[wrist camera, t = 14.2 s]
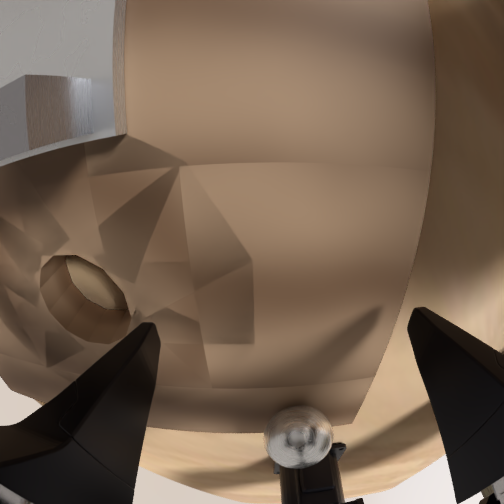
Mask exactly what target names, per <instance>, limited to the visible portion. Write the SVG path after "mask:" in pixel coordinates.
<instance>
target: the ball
mask: <svg viewBox="0 0 504 504" xmlns="http://www.w3.org/2000/svg"><path fill="white" fill-rule="evenodd" d="M333 436H334V434H333V428H332V425H331V423H330V421H329V419H328V418H327V417H326V416H325V415H324V414H323V413H322V412H321V411H319V410H317V409H315V408H313V407H309V406H292V407H288V408H285V409H283V410H281V411H280V412H278V413H277V414H275V415H274V416H273V417H272V418H271V420H270V421H269V422H268V424H267V426H266V428H265V432H264V446H265V449H266V451H267V453H268V455H269V456H270V457H271V458H272V459H273V460H274V461H275V462H276V463H278V464H280V465H282V466H284V467H287V468H293V469H301V468H306V467H310V466H312V465H314V464H316V463H318V462H319V461H321V460H322V459H323V458H324V457H325V456H326V455H327V453H328V452H329V450H330V448H331V446H332V443H333Z"/></svg>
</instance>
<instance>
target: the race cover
mask: <svg viewBox="0 0 504 504" xmlns="http://www.w3.org/2000/svg"><path fill="white" fill-rule="evenodd" d="M125 12H126V0H0V166H3V165H6V164H9V163H12V162H15V161H18V160H21V159H24V158H27V157H30V156H34V155H37V154H40V153H44V152H47V151H51V150H55V149H59V148H62V147H66V146H70V145H75V144H79V143H83V142H88V141H92V140H97V139H102V138H107V137H112V136H117V135H122V134H126V133H127V124H126V109H125V87H124V32H125Z"/></svg>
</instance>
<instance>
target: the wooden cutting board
mask: <svg viewBox="0 0 504 504" xmlns="http://www.w3.org/2000/svg"><path fill="white" fill-rule="evenodd" d="M124 87H125V109H126V124H127V133H126V134H122V135H117V136H112V137H107V138H102V139H97V140H92V141H88V142H83V143H79V144H75V145H70V146H66V147H62V148H59V149H55V150H51V151H47V152H44V153H40V154H37V155H34V156H30V157H27V158H24V159H21V160H18V161H15V162H12V163H9V164H6V165H3V166H0V376H1V378H2V379H3V380H4V382H5V383H6V384H7V385H8V387H9V388H10V389H11V390H12V391H14V392H17V393H20V394H22V395H25V396H28V397H30V398H33V399H36V400H39V401H41V402H44V403H47V402H49V401H50V400H51V399H53V398H54V397H55V396H57V395H58V394H59V393H60V392H62V391H63V390H64V389H65V388H66V387H68V386H69V385H70V384H71V383H72V382H73V381H76V379H77V378H78V377H79V376H80V375H81V374H82V373H84V372H85V371H86V370H87V369H88V368H89V367H91V366H92V365H93V364H94V363H95V362H96V361H97V360H99V359H100V358H101V357H102V356H103V355H104V354H106V353H107V352H108V351H109V350H110V349H111V348H113V347H114V346H115V345H116V344H117V343H118V342H120V341H121V340H122V339H123V338H124V337H125V336H127V335H128V334H129V333H130V332H131V331H133V330H134V329H135V328H136V327H137V326H138V325H140V324H141V323H142V322H153V323H155V325H156V328H157V331H158V334H159V337H160V341H161V348H160V355H159V363H158V371H157V380H156V386H155V391H154V395H153V399H152V403H151V408H150V412H149V417H148V421H147V427H154V428H162V429H171V430H181V431H194V432H212V433H264V432H265V428H266V426H267V424H268V422H269V421H270V420H271V418H272V417H273V416H274V415H275V414H277V413H278V412H280V411H281V410H283V409H285V408H288V407H292V406H309V407H313V408H315V409H317V410H319V411H321V412H322V413H323V414H324V415H325V416H326V417H327V418H328V419H329V421H330V423H331V425H332V426H339V425H345V424H351V423H352V422H353V421H354V419H355V417H356V415H357V413H358V411H359V409H360V407H361V405H362V403H363V401H364V399H365V397H366V394H367V392H368V390H369V388H370V386H371V384H372V381H373V379H374V377H375V375H376V372H377V370H378V368H379V365H380V363H381V360H382V358H383V355H384V353H385V350H386V348H387V345H388V343H389V340H390V337H391V335H392V332H393V329H394V326H395V323H396V321H397V318H398V315H399V312H400V309H401V305H402V302H403V299H404V296H405V293H406V289H407V286H408V282H409V279H410V275H411V272H412V268H413V264H414V260H415V256H416V252H417V248H418V243H419V239H420V234H421V229H422V224H423V219H424V214H425V208H426V203H427V196H428V190H429V183H430V175H431V167H432V158H433V147H434V133H435V111H436V79H435V57H434V44H433V34H432V26H431V18H430V11H429V5H428V0H126V12H125V32H124ZM66 255H78V256H80V257H81V258H83V259H85V260H87V261H89V262H91V263H93V264H94V265H96V266H98V267H100V268H102V269H103V270H104V271H105V272H106V273H107V274H108V276H109V277H110V278H111V279H112V280H113V281H114V283H115V284H116V285H117V286H118V287H119V288H120V289H121V290H122V292H123V293H124V296H125V299H126V302H127V305H128V308H129V309H128V310H107V309H104V308H102V307H100V306H98V305H97V304H95V303H93V302H91V301H89V300H87V299H86V298H85V297H84V296H83V294H82V293H81V292H80V291H79V290H78V289H77V288H76V286H75V285H74V284H73V283H72V280H71V278H70V275H69V272H68V269H67V266H66V263H65V260H66Z"/></svg>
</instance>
